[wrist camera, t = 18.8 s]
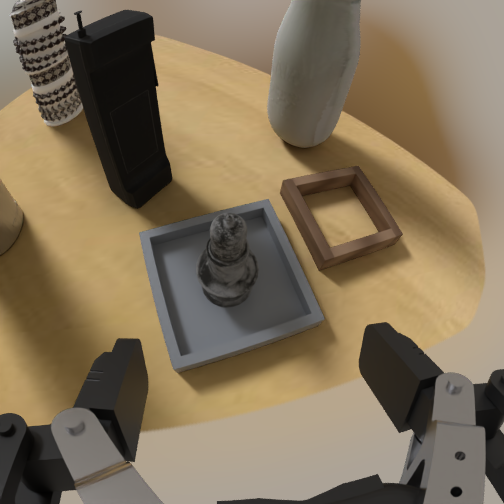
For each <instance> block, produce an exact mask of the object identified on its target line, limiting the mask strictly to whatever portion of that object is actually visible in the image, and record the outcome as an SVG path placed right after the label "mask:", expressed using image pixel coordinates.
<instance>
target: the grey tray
mask: <svg viewBox="0 0 504 504" xmlns="http://www.w3.org/2000/svg"><path fill="white" fill-rule="evenodd" d="M224 213H234V214H237V215H239V216H240V217H242V218H243V220H244V221H245V223H246V225H247V237H246V238H247V240H248V242H249V248H250V250H251V251H252V253H253V254H254V255H255V257H256V259H257V261H258V267H259V272H258V278H257V280H256V282H255V284H254V285H253V287H252V291H251V293H250V295H249V297H248V298H247V299H246V300H245V301H244V302H242V303H241V304H239V305H236V306H234V307H221V306H218V305H215V304H213V303H212V302H211V301H209V300H208V299H207V298H206V296H205V295H204V293H203V290H202V285H201V284H200V283H199V280H198V278H197V275H196V264H197V260H198V258H199V256H200V254H201V253H202V252H203V251H204V250H205V249H206V246H207V242H208V240H209V239H210V227H211V224H212V222H213V220H214V219H215V218H216V217H217V216H219V215H221V214H224ZM139 235H140V240H141V245H142V249H143V254H144V259H145V263H146V268H147V272H148V277H149V281H150V285H151V289H152V294H153V298H154V302H155V306H156V309H157V313H158V317H159V321H160V325H161V328H162V332H163V335H164V339H165V343H166V346H167V349H168V353H169V356H170V360H171V363H172V366H173V369H174V370H175V371H176V372H177V373H179V372H183V371H186V370H189V369H193V368H196V367H200V366H203V365H206V364H210V363H213V362H216V361H219V360H223V359H226V358H229V357H232V356H235V355H238V354H241V353H244V352H247V351H250V350H253V349H256V348H259V347H262V346H265V345H268V344H271V343H273V342H276V341H279V340H282V339H285V338H287V337H290V336H293V335H295V334H298V333H301V332H303V331H306V330H309V329H311V328H314V327H316V326H318V325H319V324H320V323H321V322H322V321H323V320H324V319H325V318H324V316H323V314H322V312H321V309H320V307H319V305H318V303H317V300H316V298H315V296H314V294H313V292H312V289H311V287H310V285H309V283H308V281H307V279H306V276H305V274H304V272H303V270H302V268H301V266H300V264H299V261H298V259H297V257H296V255H295V253H294V251H293V249H292V247H291V244H290V242H289V240H288V238H287V236H286V234H285V232H284V230H283V228H282V226H281V224H280V221H279V219H278V217H277V215H276V213H275V211H274V209H273V207H272V205H271V203H270V201H269V199H266V200H262V201H258V202H254V203H250V204H245V205H241V206H237V207H233V208H229V209H225V210H221V211H217V212H214V213H210V214H206V215H202V216H198V217H194V218H191V219H187V220H183V221H179V222H176V223H172V224H168V225H165V226H161V227H158V228H154V229H150V230H147V231H143V232H140V233H139Z"/></svg>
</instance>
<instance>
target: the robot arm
mask: <svg viewBox="0 0 504 504" xmlns="http://www.w3.org/2000/svg"><path fill="white" fill-rule="evenodd" d="M22 223H23V213H22V210H21V208H20V207H19V205H18V204H17V202H16V201H15V200H14V198H13V197H12V195H11V194H10V193H9V191H8V190H7V188H6V187H5V185H4V184H3V182H2V181H1V179H0V255H1V254H3V253H4V252H5V251H6V250H8V249H9V248H10V246H11V245H12V244H13V243H14V241H15V240H16V238H17V237H18V235H19V233H20V230H21V227H22ZM359 369H360V373H361V375H362V376H363V378H364V380H365V381H366V383H367V384H368V386H369V387H370V389H371V390H372V392H373V393H374V395H375V396H376V398H377V399H378V401H379V402H380V404H381V405H382V407H383V409H384V410H385V412H386V413H387V415H388V416H389V418H390V419H391V421H392V422H393V424H394V426H395V427H396V429H397V430H398V432H399V433H401V432H404V431H407V430H410V429H412V430H413V432H414V433H413V435H412V437H411V440H410V445H409V449H408V453H407V458H406V461H405V465H404V469H403V473H402V477H401V479H400V482H399V484H398V483H382V481H381V479H380V478H379V475H378V474H376V475H373V476H370V477H367V478H363V479H359V480H356V481H352V482H348V483H344V484H341V485H339V486H337V487H335V488H333V489H331V490H329V491H326V492H324V493H322V494H319V495H317V496H315V497H313V498H310V499H308V500H303V501H292V500H275V499H261V498H257V499H246V500H233V501H217V504H483V500H484V486H485V474H486V476H487V477H488V479H489V480H490V482H491V484H492V485H493V486H494V488H495V490H496V491H497V493H498V495H499V496H500V498H501V499H502V501H503V503H504V434H503V433H502V432H501V430H500V427H501V425H502V424H503V422H504V369H502V370H501V369H500V370H496V371H494V372H493V373H492V374H491V376H490V379H489V381H488V383H483V384H472V382H471V381H470V380H469V379H468V378H466V377H465V376H463V375H461V374H458V373H444V372H443V371H442V370H441V369H440V368H439V367H438V366H437V365H436V364H435V363H434V362H433V361H432V360H431V359H430V358H429V357H428V356H427V355H426V354H424V352H423V351H422V350H421V349H420V348H418V346H417V345H416V344H415V343H414V342H413V341H412V340H411V339H410V338H408V337H406V336H404V335H402V334H401V333H397V332H396V330H395V329H394V328H393V327H392V326H391V325H390V324H389V323H387V322H383V323H376V324H369V325H367V326H366V328H365V331H364V337H363V342H362V347H361V352H360V357H359ZM147 393H148V374H147V370H146V365H145V360H144V355H143V350H142V345H141V342H140V340H139V339H128V338H118V339H117V341H116V343H115V345H114V348H113V350H112V352H104V353H103V354H102V355H100V356H99V357H98V358H97V359H96V360H95V361H94V363H93V365H92V367H91V369H90V372H89V374H88V376H87V380H85V382H84V384H83V386H82V389H81V391H80V393H79V395H78V398H77V400H76V402H75V404H74V407H73V408H70V409H66V410H64V411H62V412H60V413H59V414H58V415H57V416H56V417H55V418H54V419H53V421H52V424H50V425H41V426H29V427H28V426H27V424H26V422H25V421H24V419H23V418H22V417H21V416H19V415H17V414H14V413H6V414H2V415H0V504H59V503H60V498H61V493H62V491H68V490H77V492H78V494H79V496H80V498H81V499H82V501H83V503H84V504H163V503H162V501H161V500H160V499H159V498H158V497H157V496H156V494H155V493H154V492H153V491H152V490H151V488H150V487H149V486H148V485H147V484H146V482H145V481H144V480H143V478H142V477H141V476H140V475H139V473H138V472H137V471H136V470H135V468H134V467H133V466H132V464H131V463H130V462H126V461H131V462H135V456H136V451H137V444H138V439H139V434H140V429H141V423H142V418H143V413H144V408H145V403H146V398H147Z"/></svg>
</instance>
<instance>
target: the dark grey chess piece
mask: <svg viewBox="0 0 504 504" xmlns="http://www.w3.org/2000/svg"><path fill="white" fill-rule="evenodd" d="M246 237H247V225H246V223H245V221H244V220H243V218H242V217H240V216H239V215H237V214H234V213H224V214H221V215H219V216H217V217H216V218H215V219H214V220H213V222H212V224H211V227H210V239H209V240H208V242H207V246H206V249H205V250H204V251H203V252H202V253H201V254H200V256H199V258H198V260H197V264H196V275H197V278H198V280H199V283H200V284H201V285H202V290H203V293H204V295H205V296H206V298H207V299H208V300H209V301H211V302H212V303H213V304H215V305H218V306H221V307H234V306H236V305H239V304H241V303H242V302H244V301H245V300H246V299H247V298H248V297H249V295H250V293H251V291H252V287H253V285H254V284H255V282H256V280H257V278H258V272H259V267H258V261H257V259H256V257H255V255H254V254H253V253H252V251H251V250H250V248H249V242H248V240H247V238H246Z"/></svg>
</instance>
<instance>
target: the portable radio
mask: <svg viewBox="0 0 504 504" xmlns="http://www.w3.org/2000/svg"><path fill="white" fill-rule="evenodd" d="M81 12H82V11H78V12H76V13H74V14H75V15H77V21H78V26H79V30H76V31H75V32H73V33H71V34H69V35H67V36H65V44H66V48H67V52H68V56H69V60H70V63H71V67H72V71H73V75H74V78H75V82H76V85H77V89H78V92H79V95H80V99H81V102H82V105H83V109H84V112H85V115H86V118H87V121H88V124H89V127H90V130H91V133H92V136H93V140H94V142H95V145H96V148H97V151H98V154H99V157H100V160H101V163H102V166H103V169H104V171H105V174H106V177H107V180H108V183H109V186H110V188H111V190H112V191H113V192H114V193H115V194H116V195H117V196H118V197H119V198H121V199H122V200H123V201H124V202H125V203H126V204H128V205H130V206H131V207H135V208H140V207H141V206H142V205H144V204H145V203H146V202H147V201H148V200H149V199H151V198H152V197H153V196H154V195H155V194H156V193H158V192H159V191H160V190H161V189H163V188H164V187H165V186H166V185H167V184H169V183H170V182H171V181H172V173H171V167H170V163H169V160H168V158H167V156H166V153H165V147H164V141H163V135H162V128H161V122H160V115H159V108H158V100H157V93H156V86H158V80H157V75H156V69H155V64H154V58H153V52H152V46H151V42H152V41H154V40H155V36H154V24H153V17H152V16H150V15H149V14H147V13H145V12H139V11H132V10H123V11H120V12H118V13H115V14H113V15H110V16H108V17H105V18H103V19H101V20H98V21H96V22H94V23H91V24H89V25H87V26H85V27H83V26H82V21H81V15H80V13H81Z"/></svg>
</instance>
